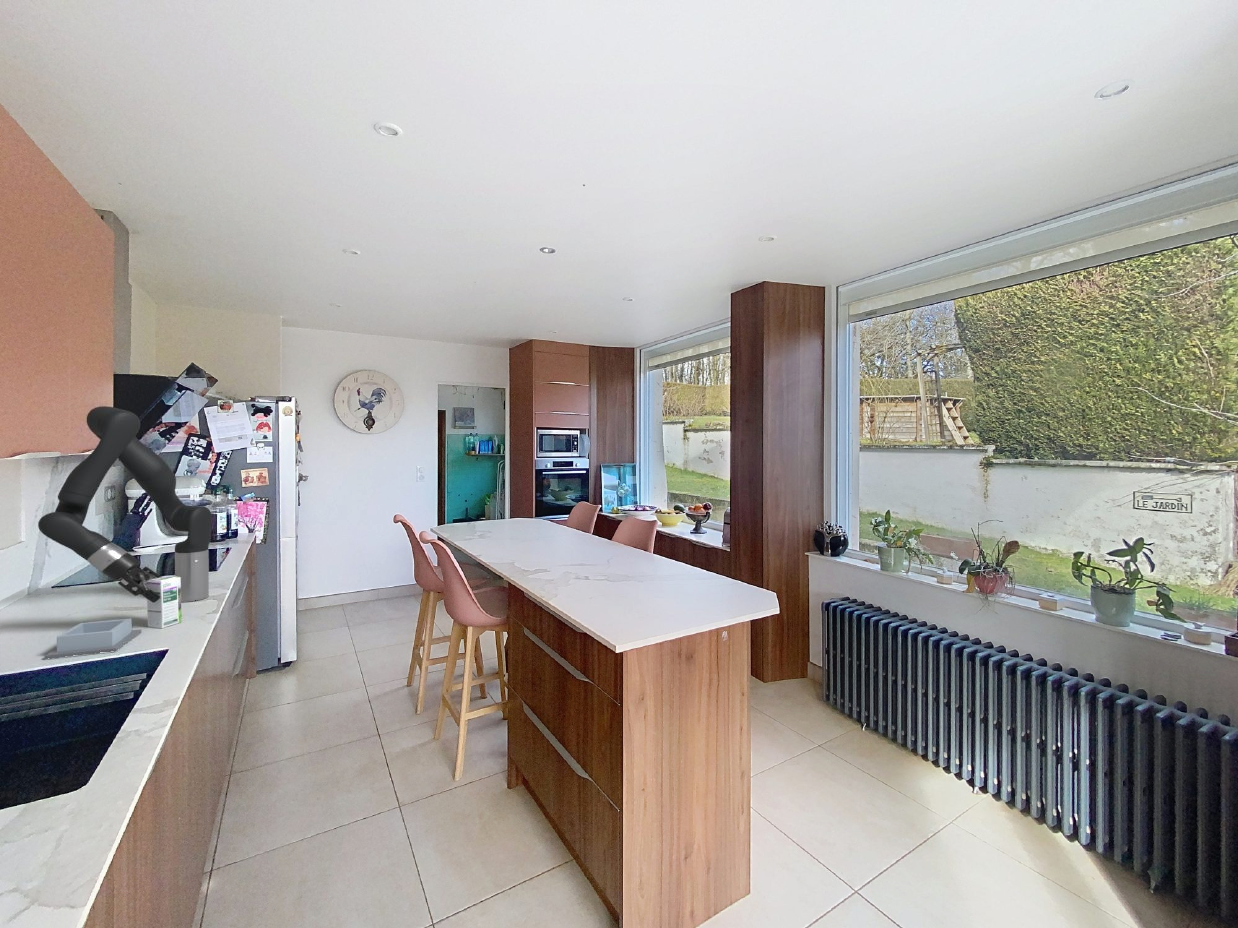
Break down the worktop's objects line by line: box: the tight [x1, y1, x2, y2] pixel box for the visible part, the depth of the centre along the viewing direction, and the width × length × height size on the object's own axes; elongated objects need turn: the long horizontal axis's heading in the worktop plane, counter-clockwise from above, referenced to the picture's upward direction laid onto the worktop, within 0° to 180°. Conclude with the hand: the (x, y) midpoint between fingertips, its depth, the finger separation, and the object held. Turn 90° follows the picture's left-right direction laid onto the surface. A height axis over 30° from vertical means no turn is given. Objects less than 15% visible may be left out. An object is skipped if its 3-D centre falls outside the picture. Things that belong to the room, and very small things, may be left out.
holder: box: [43, 618, 142, 660], centre depth 141 cm, size 15×14×5 cm
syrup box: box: [146, 575, 182, 629], centre depth 157 cm, size 6×6×14 cm
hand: (163, 596), depth 157 cm, fingers open, 8 cm apart
